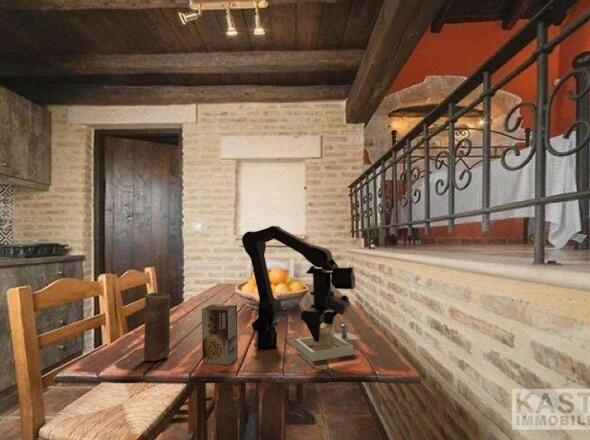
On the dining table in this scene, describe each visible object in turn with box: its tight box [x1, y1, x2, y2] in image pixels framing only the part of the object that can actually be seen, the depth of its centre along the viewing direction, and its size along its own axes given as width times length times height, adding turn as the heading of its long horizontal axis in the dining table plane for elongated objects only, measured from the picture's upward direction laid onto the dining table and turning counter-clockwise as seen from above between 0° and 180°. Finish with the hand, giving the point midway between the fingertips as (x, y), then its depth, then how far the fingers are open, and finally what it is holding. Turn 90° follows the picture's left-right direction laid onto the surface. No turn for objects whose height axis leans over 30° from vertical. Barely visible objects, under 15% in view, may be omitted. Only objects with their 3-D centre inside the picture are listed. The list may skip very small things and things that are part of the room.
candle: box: [143, 292, 171, 362], centre depth 105 cm, size 8×7×20 cm
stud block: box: [334, 323, 360, 342], centre depth 120 cm, size 8×8×5 cm
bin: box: [295, 335, 354, 366], centre depth 106 cm, size 14×14×4 cm
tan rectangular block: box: [312, 322, 335, 351], centre depth 106 cm, size 5×5×8 cm
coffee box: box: [201, 304, 239, 365], centre depth 103 cm, size 9×6×16 cm
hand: (323, 337), depth 106 cm, fingers open, 9 cm apart
